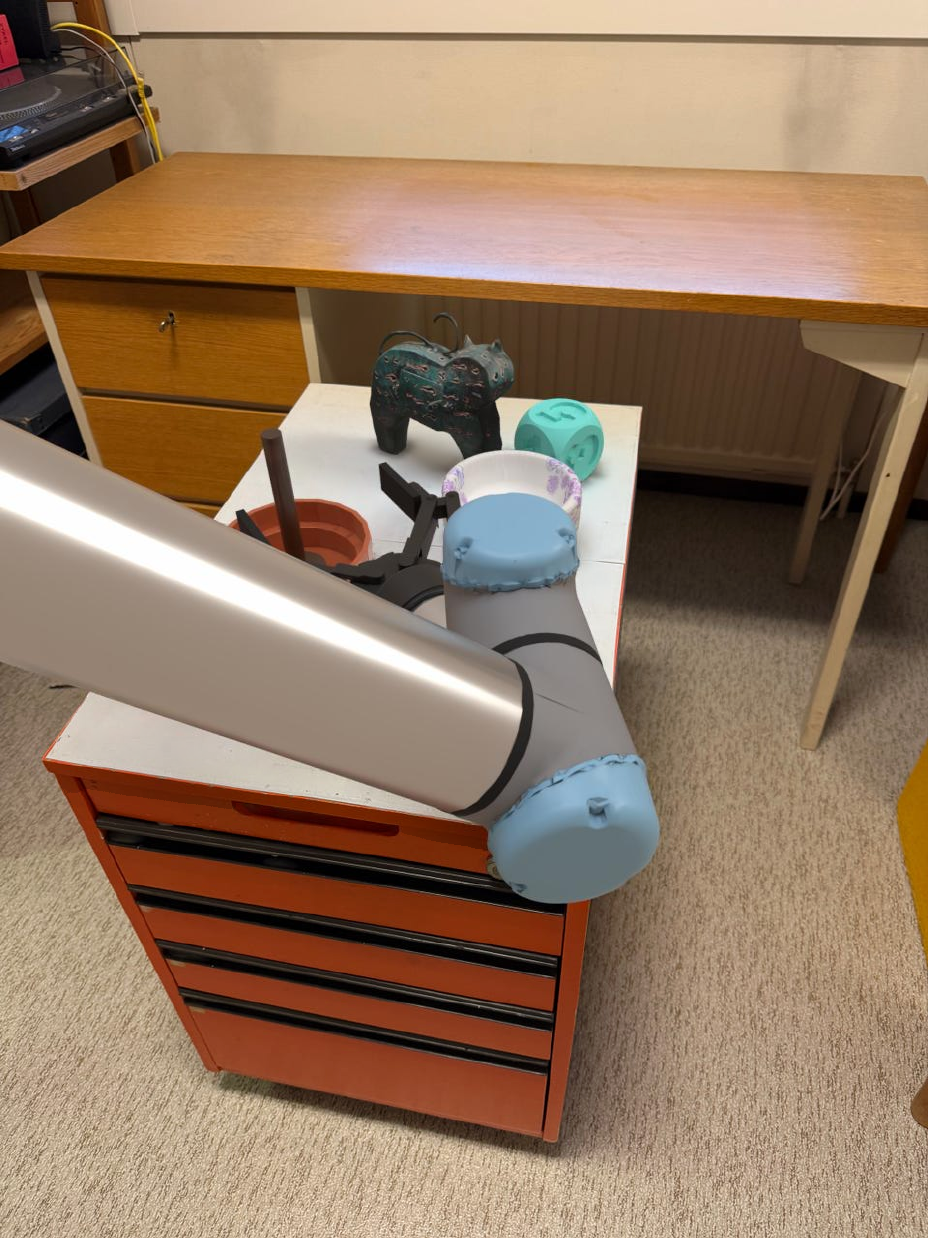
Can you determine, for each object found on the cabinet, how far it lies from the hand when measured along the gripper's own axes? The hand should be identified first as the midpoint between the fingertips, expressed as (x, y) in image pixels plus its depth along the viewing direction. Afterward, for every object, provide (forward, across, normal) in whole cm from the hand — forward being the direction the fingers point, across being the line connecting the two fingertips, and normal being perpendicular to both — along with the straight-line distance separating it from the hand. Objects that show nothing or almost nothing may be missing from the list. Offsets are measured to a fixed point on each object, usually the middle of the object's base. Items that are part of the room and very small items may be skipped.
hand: (315, 498), depth 78 cm
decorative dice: (+13, +37, -16) cm, 42 cm away
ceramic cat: (+23, +25, -17) cm, 38 cm away
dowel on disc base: (+10, 0, -16) cm, 19 cm away
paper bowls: (+4, +23, -17) cm, 29 cm away
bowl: (+10, 0, -17) cm, 19 cm away
